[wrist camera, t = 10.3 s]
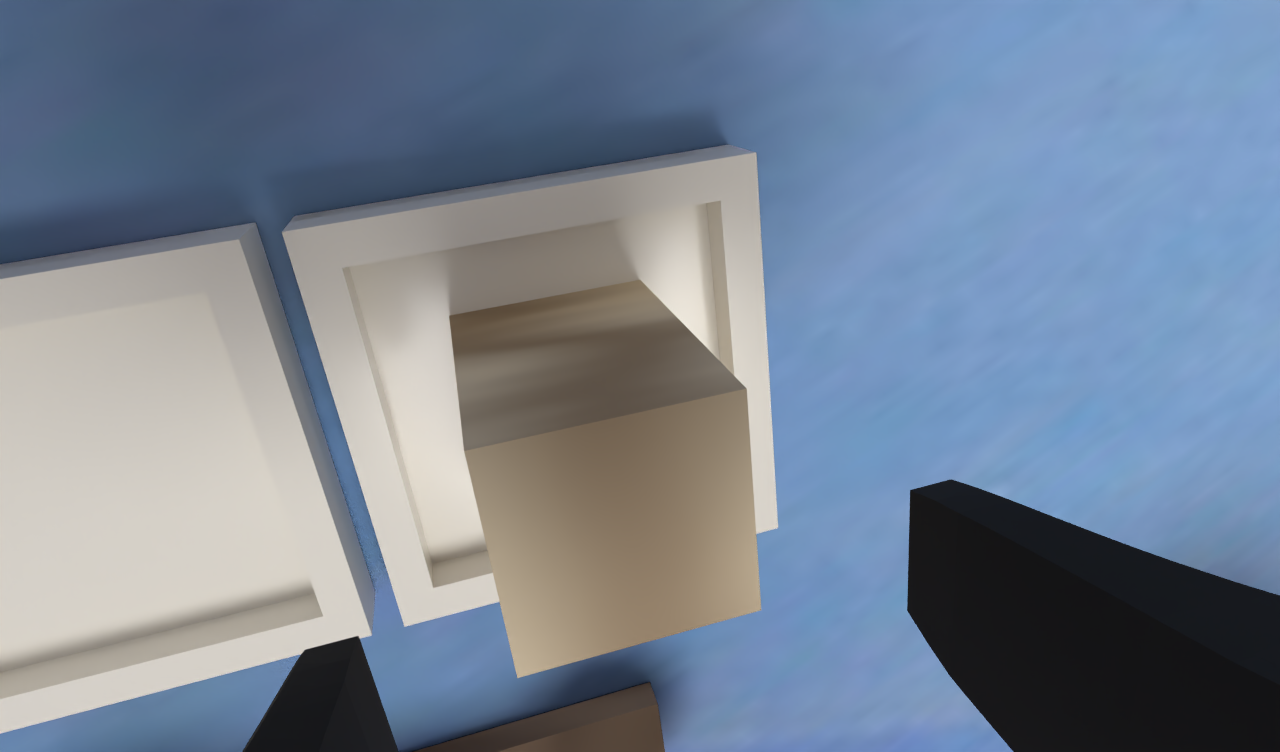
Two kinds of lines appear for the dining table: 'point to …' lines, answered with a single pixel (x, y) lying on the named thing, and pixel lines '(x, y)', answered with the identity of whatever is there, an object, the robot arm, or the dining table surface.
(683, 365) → the maple block
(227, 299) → the white square tray
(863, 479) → the dining table surface
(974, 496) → the robot arm
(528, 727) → the balance
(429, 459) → the outer dish
